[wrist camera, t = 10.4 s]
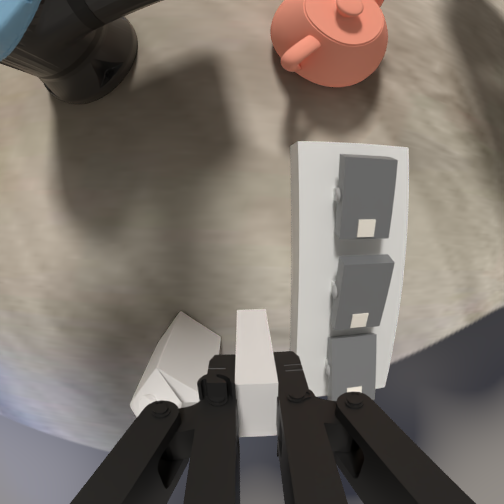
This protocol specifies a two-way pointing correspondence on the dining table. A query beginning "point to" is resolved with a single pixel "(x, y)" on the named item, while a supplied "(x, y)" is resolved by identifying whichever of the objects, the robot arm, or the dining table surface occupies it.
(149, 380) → the milk carton
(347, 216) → the plate
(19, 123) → the dining table surface
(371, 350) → the rocker
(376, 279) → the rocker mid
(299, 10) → the teapot
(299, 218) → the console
